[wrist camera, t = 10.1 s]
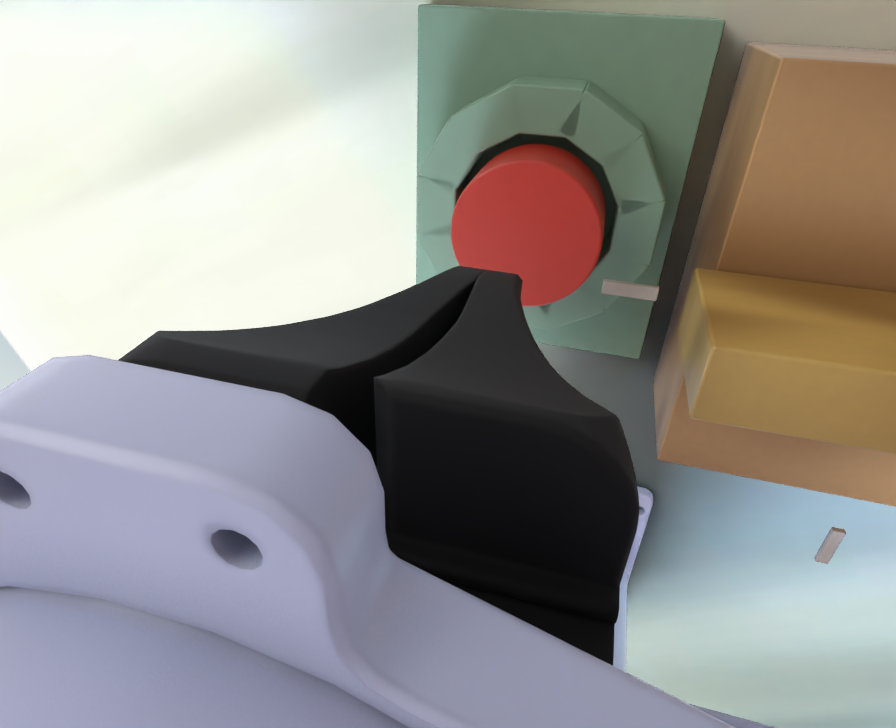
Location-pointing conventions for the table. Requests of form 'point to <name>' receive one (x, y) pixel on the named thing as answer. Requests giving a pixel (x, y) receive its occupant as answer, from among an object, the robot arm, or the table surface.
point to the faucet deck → (791, 243)
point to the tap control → (566, 137)
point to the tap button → (532, 221)
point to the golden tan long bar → (791, 358)
